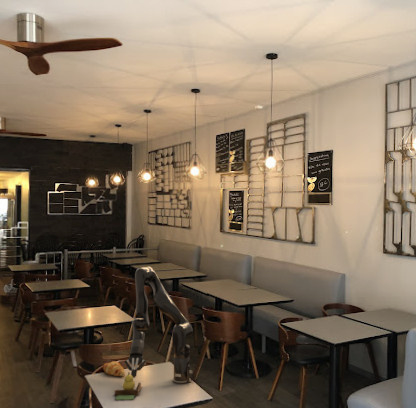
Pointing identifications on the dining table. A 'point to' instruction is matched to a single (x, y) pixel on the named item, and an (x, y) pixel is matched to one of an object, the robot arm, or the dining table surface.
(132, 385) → the pear
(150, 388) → the dining table surface
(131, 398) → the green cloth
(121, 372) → the croissant
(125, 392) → the corner fence
